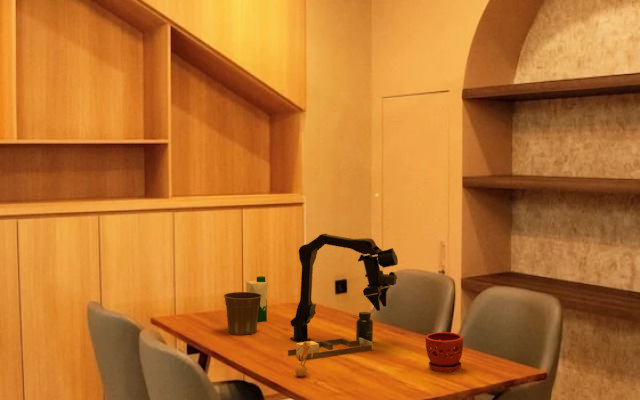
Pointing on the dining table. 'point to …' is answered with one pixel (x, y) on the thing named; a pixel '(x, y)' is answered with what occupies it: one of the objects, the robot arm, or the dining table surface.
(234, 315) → the plant pot
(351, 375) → the dining table surface
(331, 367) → the dining table surface
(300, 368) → the figurine
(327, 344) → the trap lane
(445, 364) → the plant pot
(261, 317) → the milk carton
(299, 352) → the cream block
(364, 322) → the supplement bottle
